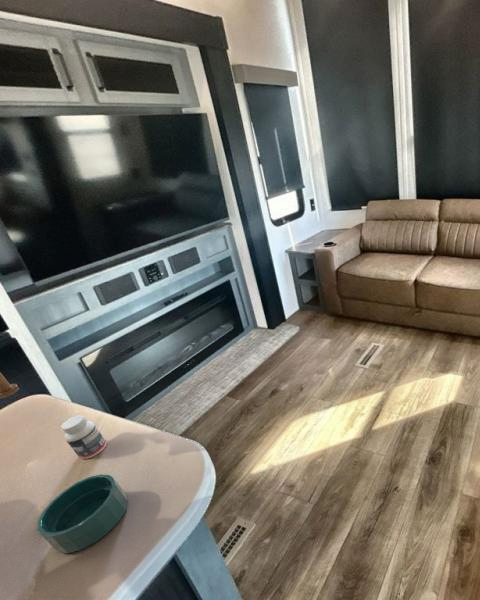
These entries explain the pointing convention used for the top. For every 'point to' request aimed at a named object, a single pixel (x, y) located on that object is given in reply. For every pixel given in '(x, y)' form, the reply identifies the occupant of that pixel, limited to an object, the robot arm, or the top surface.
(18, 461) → the top surface
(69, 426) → the pill bottle
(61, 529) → the bowl
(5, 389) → the wooden peg
